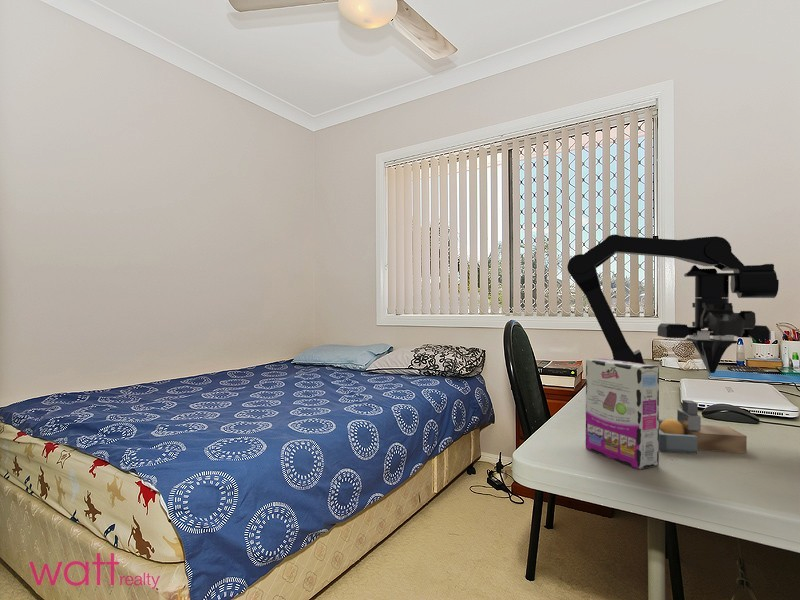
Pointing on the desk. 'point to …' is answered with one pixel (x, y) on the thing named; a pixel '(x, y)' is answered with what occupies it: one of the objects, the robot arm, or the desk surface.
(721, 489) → the desk surface
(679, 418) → the gray zigzag block
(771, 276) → the robot arm
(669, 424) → the ball
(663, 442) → the tray
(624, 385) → the candy bar box
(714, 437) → the tan block
